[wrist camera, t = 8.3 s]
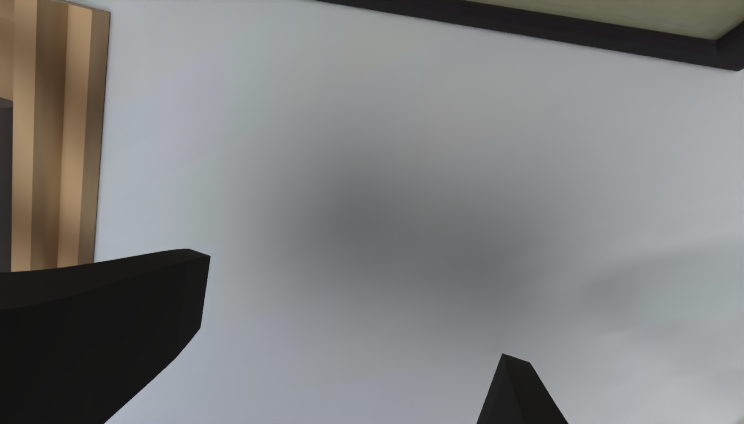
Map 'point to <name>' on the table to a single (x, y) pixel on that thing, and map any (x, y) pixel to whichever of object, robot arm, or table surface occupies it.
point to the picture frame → (600, 24)
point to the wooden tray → (54, 127)
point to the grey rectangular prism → (6, 182)
